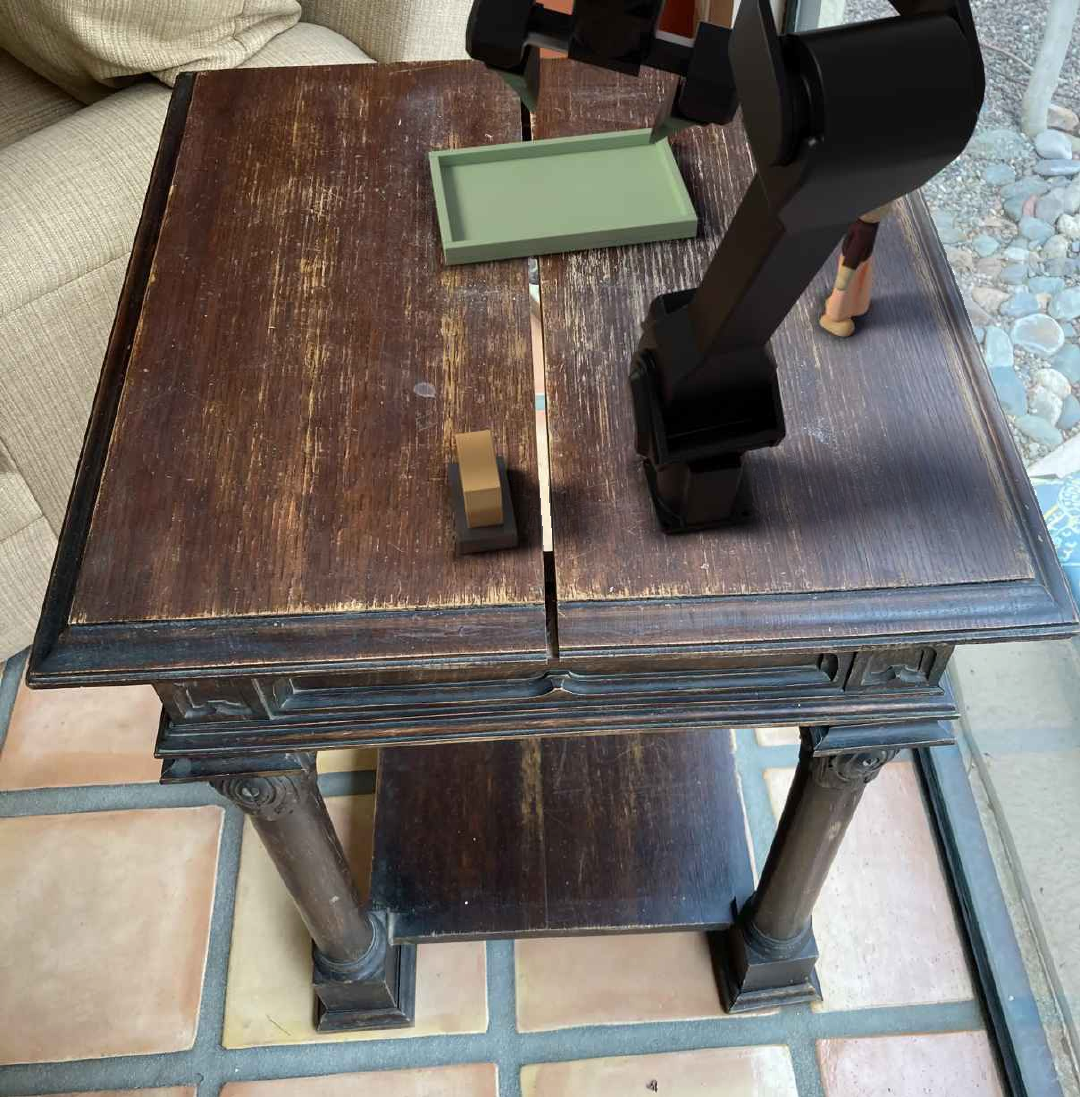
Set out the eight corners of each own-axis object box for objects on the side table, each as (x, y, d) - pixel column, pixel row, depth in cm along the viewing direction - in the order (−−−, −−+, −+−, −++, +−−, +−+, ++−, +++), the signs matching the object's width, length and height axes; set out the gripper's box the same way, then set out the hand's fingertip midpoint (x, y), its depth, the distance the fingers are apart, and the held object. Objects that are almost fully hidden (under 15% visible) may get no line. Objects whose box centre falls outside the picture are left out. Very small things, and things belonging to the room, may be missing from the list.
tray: (696, 236, 90) (698, 219, 88) (446, 265, 88) (444, 248, 87) (660, 143, 98) (662, 126, 96) (430, 169, 96) (428, 151, 95)
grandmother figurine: (864, 348, 82) (908, 212, 72) (814, 342, 82) (851, 206, 72) (866, 283, 86) (908, 146, 76) (819, 278, 87) (854, 141, 76)
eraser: (518, 546, 72) (515, 497, 67) (459, 554, 71) (453, 505, 67) (504, 468, 76) (500, 416, 71) (449, 475, 75) (441, 424, 71)
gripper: (798, -104, 66) (733, 66, 81) (510, -183, 65) (499, 2, 80) (766, 42, 63) (704, 189, 78) (464, -39, 62) (461, 125, 78)
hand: (593, 122), depth 78 cm, fingers open, 9 cm apart
